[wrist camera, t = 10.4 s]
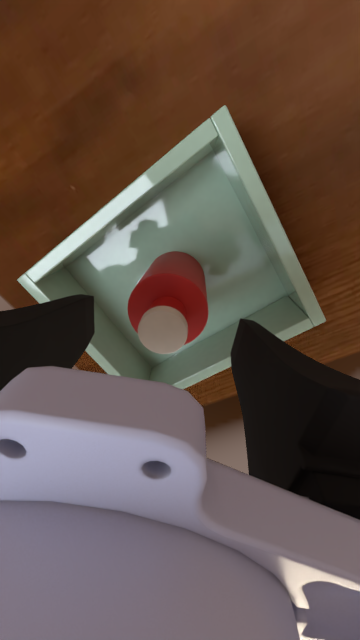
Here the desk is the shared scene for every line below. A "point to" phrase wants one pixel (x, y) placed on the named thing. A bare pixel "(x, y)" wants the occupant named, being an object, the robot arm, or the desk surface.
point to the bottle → (169, 303)
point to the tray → (194, 239)
